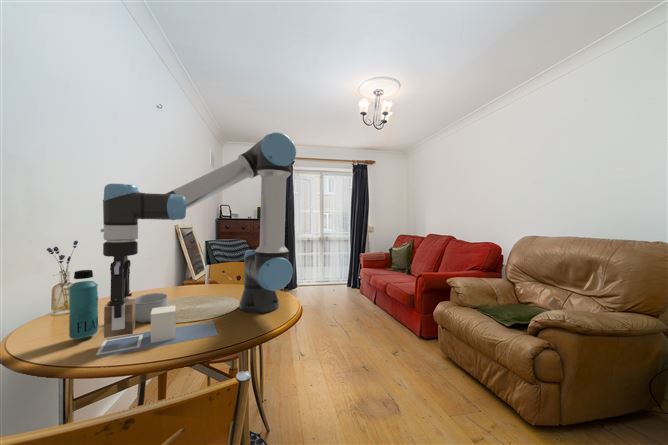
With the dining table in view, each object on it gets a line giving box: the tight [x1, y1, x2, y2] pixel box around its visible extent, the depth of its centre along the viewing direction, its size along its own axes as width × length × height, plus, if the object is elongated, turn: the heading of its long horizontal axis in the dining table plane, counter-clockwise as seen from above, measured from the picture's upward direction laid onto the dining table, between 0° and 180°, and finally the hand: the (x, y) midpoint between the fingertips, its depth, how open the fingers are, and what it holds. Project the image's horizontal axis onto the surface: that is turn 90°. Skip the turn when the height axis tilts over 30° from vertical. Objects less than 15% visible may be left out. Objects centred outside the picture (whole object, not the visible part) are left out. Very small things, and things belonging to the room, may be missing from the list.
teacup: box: [129, 292, 169, 324], centre depth 96 cm, size 14×11×8 cm
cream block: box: [150, 305, 177, 343], centre depth 82 cm, size 6×6×8 cm
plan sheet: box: [95, 321, 219, 359], centre depth 82 cm, size 29×13×1 cm, turn 120°
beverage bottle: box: [68, 269, 99, 340], centre depth 81 cm, size 6×7×20 cm
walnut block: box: [103, 298, 136, 339], centre depth 77 cm, size 6×6×8 cm
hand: (120, 324), depth 77 cm, fingers closed on walnut block, 6 cm apart
